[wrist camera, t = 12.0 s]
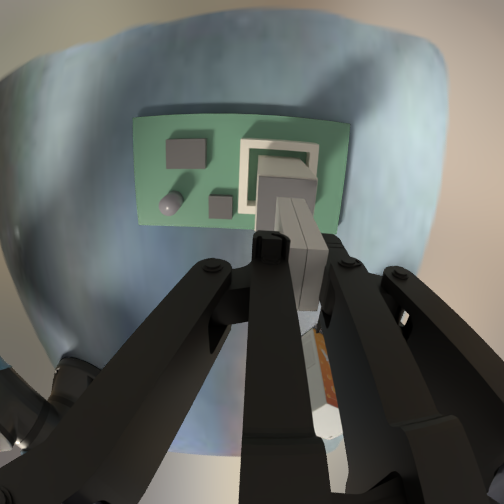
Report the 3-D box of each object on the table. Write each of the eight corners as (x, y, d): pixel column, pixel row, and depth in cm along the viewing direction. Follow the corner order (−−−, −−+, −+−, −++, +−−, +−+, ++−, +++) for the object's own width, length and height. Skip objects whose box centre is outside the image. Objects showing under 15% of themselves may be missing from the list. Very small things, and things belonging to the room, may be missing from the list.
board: (142, 221, 32) (130, 233, 29) (137, 117, 27) (122, 118, 24) (333, 230, 32) (341, 243, 29) (346, 123, 27) (357, 124, 23)
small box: (348, 349, 40) (368, 420, 29) (318, 371, 43) (329, 441, 31) (312, 325, 38) (327, 403, 27) (281, 351, 41) (285, 427, 29)
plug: (256, 193, 29) (254, 233, 20) (258, 154, 27) (257, 175, 18) (295, 196, 29) (312, 236, 20) (299, 157, 27) (319, 179, 18)
